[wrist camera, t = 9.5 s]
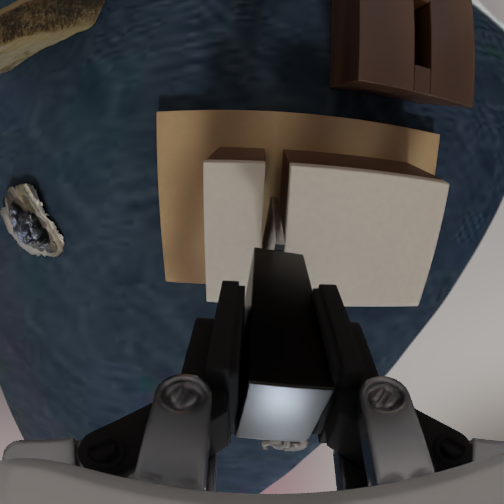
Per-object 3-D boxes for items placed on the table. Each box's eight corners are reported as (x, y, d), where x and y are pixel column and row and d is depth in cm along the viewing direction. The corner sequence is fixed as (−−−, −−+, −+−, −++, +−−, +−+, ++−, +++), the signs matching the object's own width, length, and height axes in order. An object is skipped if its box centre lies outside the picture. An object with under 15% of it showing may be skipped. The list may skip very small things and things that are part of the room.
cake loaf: (407, 162, 20) (450, 183, 15) (389, 263, 24) (418, 306, 18) (282, 149, 20) (290, 165, 15) (275, 258, 24) (279, 305, 18)
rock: (-21, 104, 17) (50, 111, 17) (-73, 48, 9) (-13, 27, 8) (47, 17, 19) (127, 11, 19) (17, -43, 11) (104, -69, 11)
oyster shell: (21, 167, 22) (7, 172, 20) (79, 224, 24) (68, 233, 22) (-1, 220, 24) (-13, 228, 22) (51, 273, 26) (41, 283, 25)
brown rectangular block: (264, 148, 20) (265, 163, 15) (259, 257, 24) (258, 304, 18) (218, 146, 20) (203, 161, 15) (218, 256, 24) (206, 302, 18)
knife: (290, 199, 19) (341, 380, 6) (280, 244, 20) (304, 447, 8) (257, 193, 19) (250, 371, 6) (249, 239, 20) (233, 442, 8)
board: (433, 133, 20) (440, 134, 19) (404, 284, 26) (408, 290, 25) (160, 111, 20) (156, 111, 19) (168, 275, 26) (165, 281, 25)
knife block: (421, 19, 16) (472, -2, 10) (419, 103, 19) (473, 108, 13) (331, -2, 16) (358, -40, 10) (329, 87, 19) (358, 80, 13)
